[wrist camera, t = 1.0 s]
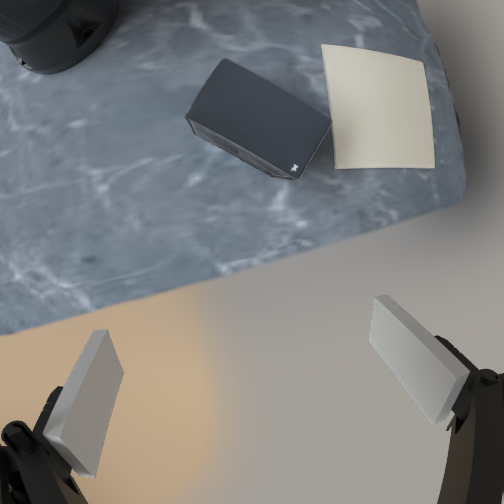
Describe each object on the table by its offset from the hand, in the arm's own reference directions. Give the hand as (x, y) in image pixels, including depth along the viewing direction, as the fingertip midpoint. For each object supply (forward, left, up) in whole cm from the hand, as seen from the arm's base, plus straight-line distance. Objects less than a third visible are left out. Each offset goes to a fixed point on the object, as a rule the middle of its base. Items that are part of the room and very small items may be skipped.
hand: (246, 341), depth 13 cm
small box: (-11, +4, -22) cm, 25 cm away
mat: (-14, +22, -22) cm, 34 cm away
